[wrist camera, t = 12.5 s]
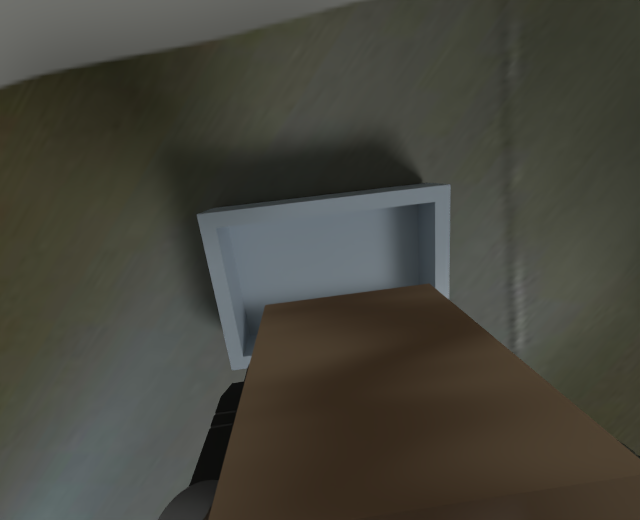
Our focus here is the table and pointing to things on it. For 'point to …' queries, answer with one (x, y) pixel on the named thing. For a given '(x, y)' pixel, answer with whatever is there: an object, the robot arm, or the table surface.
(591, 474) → the walnut block
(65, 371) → the table surface
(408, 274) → the slate tray
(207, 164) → the table surface
